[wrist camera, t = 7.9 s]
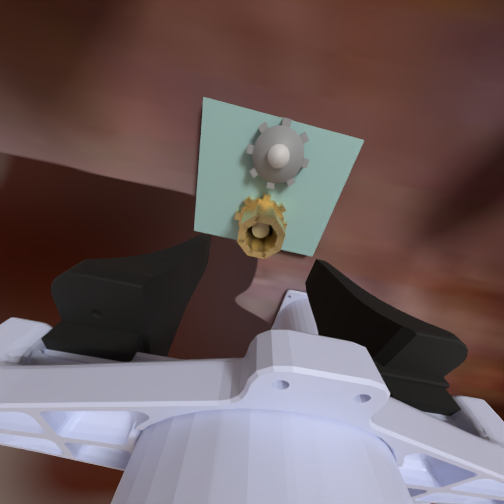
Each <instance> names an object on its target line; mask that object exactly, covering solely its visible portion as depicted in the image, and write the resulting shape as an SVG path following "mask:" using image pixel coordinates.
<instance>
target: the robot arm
mask: <svg viewBox="0 0 504 504" xmlns="http://www.w3.org/2000/svg"><path fill="white" fill-rule="evenodd" d="M210 241H211V236H207V235H203V234H201V235H199V236H197V237H194V238H192V239H190V240H188V241H186V242H183V243H181V244H178V245H176V246H173V247H171V248H168V249H164V250H161V251H157V252H153V253H148V254H143V255H138V256H131V257H122V258H112V259H111V258H109V259H85V260H84V261H82V262H81V263H79V264H77V265H76V266H74V267H72V268H71V269H69V270H67V271H66V272H64V273H63V274H61V275H59V276H58V277H56V278H55V280H54V281H53V282H52V286H51V293H52V297H53V300H54V302H55V304H56V307H57V309H58V311H59V314H60V316H61V319H62V321H61V322H60V323H58V324H57V325H56V326H55V327H54V328H53V327H52V326H50V325H49V324H46V323H43V322H37V321H32V320H27V319H21V318H10V319H8V320H7V321H5V322H4V323H2V324H1V325H0V445H4V446H10V447H16V448H21V449H25V450H30V451H36V452H41V453H45V454H49V455H54V456H59V457H63V458H68V459H72V460H77V461H82V462H86V463H91V464H96V465H100V466H105V467H109V468H114V469H119V470H123V471H125V472H124V474H123V476H122V478H121V481H120V483H119V486H118V488H117V490H116V493H115V495H114V497H113V500H112V502H111V504H430V503H440V504H441V503H442V504H504V422H503V421H502V419H501V418H500V417H499V416H498V415H497V414H496V413H495V412H494V411H493V409H492V408H491V407H490V406H489V405H488V404H487V403H486V402H485V400H482V399H479V398H473V397H467V396H461V395H456V396H452V397H451V395H450V394H449V393H448V391H447V390H446V389H445V388H448V387H449V383H448V382H447V381H446V380H445V379H444V376H445V375H447V374H448V373H449V372H451V371H452V370H454V369H455V368H456V367H458V366H459V365H460V364H461V363H462V362H463V361H464V360H465V359H466V357H467V352H468V349H467V347H466V345H465V344H464V343H463V342H462V341H461V340H460V339H459V338H458V337H456V336H455V335H454V334H452V333H451V332H449V331H446V330H444V329H441V328H439V327H436V326H434V325H431V324H429V323H426V322H424V321H421V320H419V319H417V318H415V317H413V316H410V315H408V314H406V313H404V312H402V311H400V310H398V309H396V308H394V307H392V306H390V305H388V304H387V303H385V302H383V301H381V300H380V299H378V298H376V297H375V296H373V295H371V294H370V293H368V292H367V291H365V290H364V289H362V288H361V287H359V286H358V285H357V284H355V283H354V282H352V281H351V280H350V279H349V278H347V277H346V276H345V275H343V274H342V273H341V272H340V271H338V270H337V269H336V268H334V267H333V266H332V265H330V264H329V263H327V262H326V261H322V260H318V259H316V261H315V263H314V265H313V267H312V269H311V271H310V274H309V276H308V278H307V280H306V282H305V283H306V291H307V293H305V292H300V291H295V290H287V292H286V294H285V296H284V299H283V301H282V304H281V306H280V309H279V311H278V313H277V316H276V318H275V321H274V323H273V326H272V328H271V330H268V331H265V332H263V333H260V334H258V335H257V336H256V337H255V338H254V339H253V341H252V342H251V343H250V345H249V348H248V350H247V353H246V355H245V357H244V358H220V359H192V360H181V359H175V358H170V357H167V355H168V352H169V349H170V346H171V344H172V341H173V339H174V336H175V333H176V331H177V328H178V326H179V323H180V321H181V318H182V316H183V313H184V311H185V308H186V306H187V304H188V302H189V300H190V298H191V296H192V294H193V292H194V290H195V289H196V287H197V285H198V283H199V281H200V280H201V277H202V276H203V274H204V271H205V269H206V266H207V263H208V257H209V249H210ZM288 295H290V296H288Z"/></svg>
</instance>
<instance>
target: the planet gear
mask: <svg viewBox="0 0 504 504" xmlns="http://www.w3.org/2000/svg"><path fill="white" fill-rule="evenodd" d="M244 203H245V205H243V206H242V208H241V211H239V210H237V211H236V214H235V220H239V225H238V226H239V227H240V228H239V229H238V233H239V234H238V239H237V242H238V244H239V245H240V246H241V248H242V249H243V250H244V252H245V253H246V254H247V255H248V256H253V257H257V258H262V259H266V258H267V257H269V256H271V255H273V254H275V253H277V252H279V251H280V250H281V247H282V244H283V241H284V238H285V235H286V233H285V230H286V227H287V222H286V221H284V215H283V214H282V213H283V212H285V211H286V209H285V207H284V205H283V204H282V202H281V203H280V204H278V205H277V203H276V202H275V200H271V194H268V193H264V194H263V197H258V196H257V197H255V198H254V199H252V198H251V196H250V195H249V196H248V197H246V198H245V199H244ZM258 222H260V223H264V224H269V225H272V226H270V227H269V233H268V235H267V236H266V237H263V238H258V237H256V236H254V234H253V233H252V226H253V225H254V224H256V223H258Z"/></svg>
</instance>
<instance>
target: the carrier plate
mask: <svg viewBox="0 0 504 504" xmlns="http://www.w3.org/2000/svg"><path fill="white" fill-rule="evenodd" d="M363 142H364V140H362V139H358V138H354V137H351V136H347V135H343V134H340V133H336V132H332V131H328V130H325V129H321V128H317V127H314V126H310V125H306V124H302V123H299V122H295V121H292V119H288V118H285V117H283V118H280V117H276V116H273V115H269V114H265V113H262V112H258V111H254V110H250V109H247V108H243V107H239V106H236V105H232V104H228V103H224V102H221V101H217V100H213V99H210V98H206V97H203V110H202V124H201V138H200V152H199V167H198V181H197V195H196V209H195V224H194V231H198V232H203V233H207V234H212V235H216V236H221V237H225V238H231V239H234V240H237V239H238V234H239V233H238V229H239V228H240V227H239V226H238V225H239V220H235V214H236V211H237V210H239V211H241V208H242V206H243V205H245V203H244V199H245V198H246V197H248V196H249V195H250V196H251V198H252V199H254V198H255V197H257V196H258V197H263V194H264V193H268V194H271V200H275V202H276V203H277V205H278V204H280V203H281V202H282V204H283V205H284V207H285V209H286V211H285V212H283V213H282V214H283V215H284V221H286V222H287V227H286V230H285V233H286V235H285V238H284V241H283V244H282V247H281V250H285V251H289V252H294V253H298V254H303V255H308V256H313V254H314V252H315V249H316V247H317V245H318V243H319V240H320V238H321V236H322V234H323V232H324V229H325V227H326V225H327V223H328V220H329V218H330V216H331V214H332V211H333V209H334V207H335V205H336V202H337V200H338V198H339V196H340V194H341V191H342V189H343V187H344V185H345V182H346V180H347V178H348V176H349V173H350V171H351V169H352V167H353V164H354V162H355V160H356V158H357V155H358V153H359V151H360V149H361V147H362V144H363ZM270 226H272V225H269V224H264V223H260V222H258V223H256V224H254V225H253V226H252V233H253V234H254V236H256V237H258V238H263V237H266V236H267V235H268V233H269V227H270Z"/></svg>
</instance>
